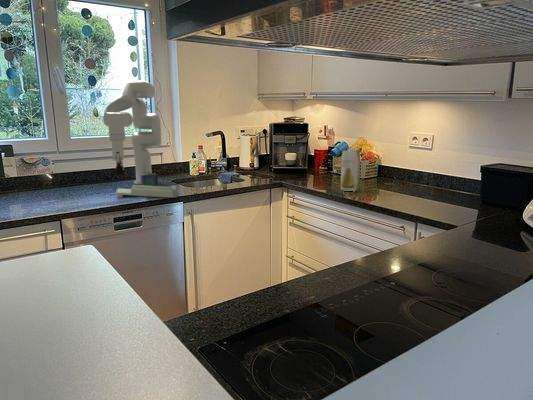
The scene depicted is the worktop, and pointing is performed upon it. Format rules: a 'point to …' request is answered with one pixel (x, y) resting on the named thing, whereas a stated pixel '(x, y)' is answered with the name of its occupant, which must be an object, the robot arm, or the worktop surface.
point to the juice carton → (350, 170)
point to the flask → (149, 179)
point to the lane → (148, 191)
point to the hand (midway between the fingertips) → (120, 173)
